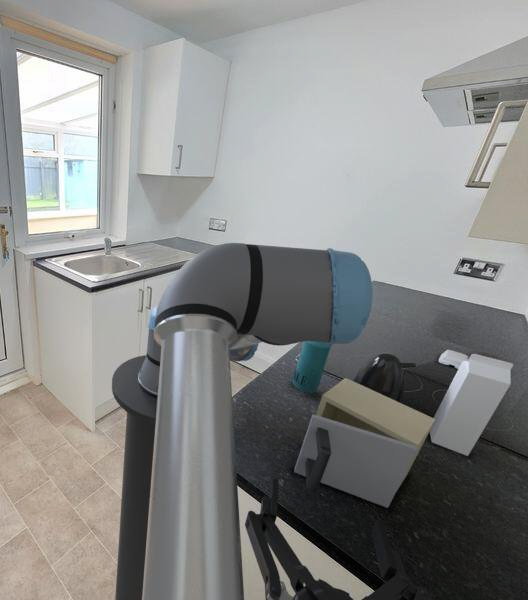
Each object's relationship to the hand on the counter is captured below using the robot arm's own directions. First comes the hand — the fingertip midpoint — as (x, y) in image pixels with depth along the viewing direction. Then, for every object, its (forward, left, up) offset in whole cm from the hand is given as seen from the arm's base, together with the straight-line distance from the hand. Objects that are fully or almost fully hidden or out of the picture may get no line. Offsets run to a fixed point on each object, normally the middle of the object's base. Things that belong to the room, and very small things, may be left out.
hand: (322, 504), depth 47 cm
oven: (-2, +24, -8) cm, 25 cm away
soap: (-2, +99, -8) cm, 100 cm away
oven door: (0, +11, -8) cm, 14 cm away
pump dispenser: (-7, +49, -8) cm, 50 cm away
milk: (+8, +49, -8) cm, 50 cm away
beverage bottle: (-20, +39, -8) cm, 44 cm away
